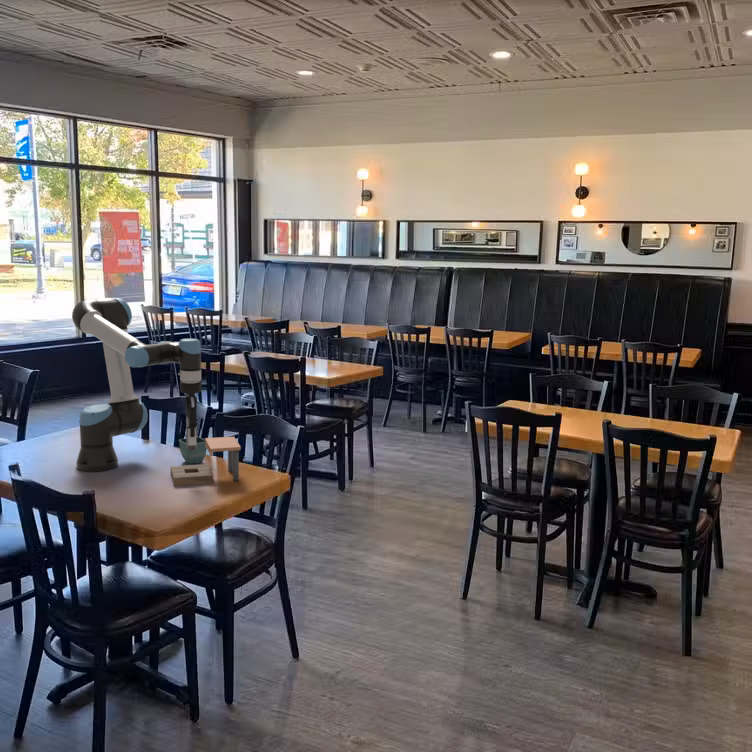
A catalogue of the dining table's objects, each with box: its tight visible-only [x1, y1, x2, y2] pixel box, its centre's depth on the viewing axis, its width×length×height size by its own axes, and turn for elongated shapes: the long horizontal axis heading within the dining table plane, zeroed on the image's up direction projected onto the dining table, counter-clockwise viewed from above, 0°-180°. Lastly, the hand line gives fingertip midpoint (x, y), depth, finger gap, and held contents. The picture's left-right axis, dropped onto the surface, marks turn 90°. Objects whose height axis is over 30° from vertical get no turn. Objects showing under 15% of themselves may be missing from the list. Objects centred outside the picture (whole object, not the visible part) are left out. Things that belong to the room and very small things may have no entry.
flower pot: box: [178, 436, 208, 465], centre depth 303 cm, size 9×9×9 cm
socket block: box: [170, 463, 214, 487], centre depth 284 cm, size 14×14×3 cm
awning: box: [204, 436, 242, 482], centre depth 287 cm, size 15×11×13 cm
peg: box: [185, 416, 198, 450], centre depth 281 cm, size 4×4×12 cm
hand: (191, 443), depth 281 cm, fingers closed on peg, 3 cm apart
